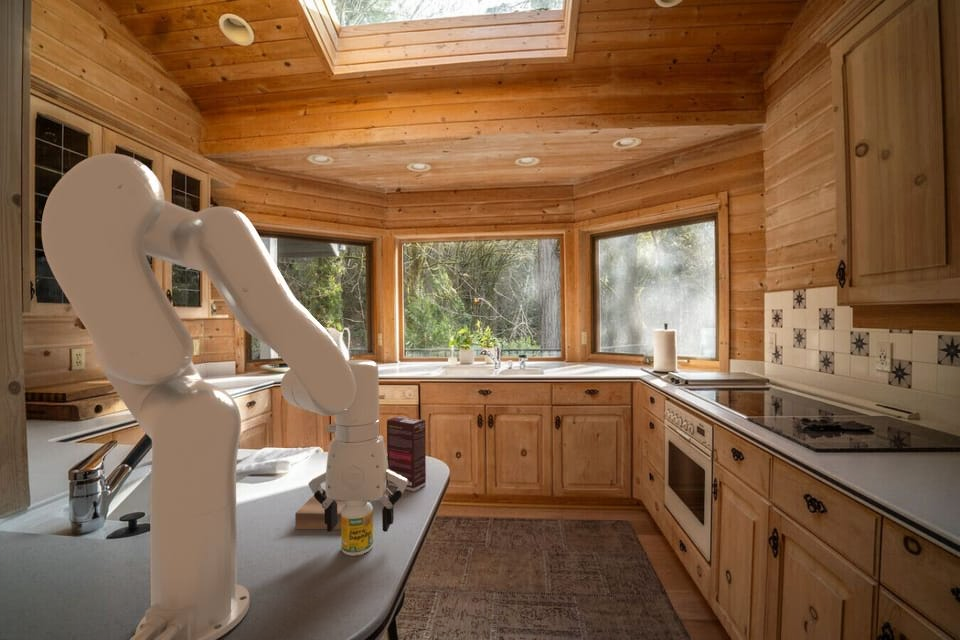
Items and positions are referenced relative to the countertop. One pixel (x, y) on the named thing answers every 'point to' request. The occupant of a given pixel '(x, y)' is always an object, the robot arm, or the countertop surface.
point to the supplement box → (407, 450)
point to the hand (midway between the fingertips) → (359, 527)
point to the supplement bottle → (357, 527)
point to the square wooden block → (315, 515)
